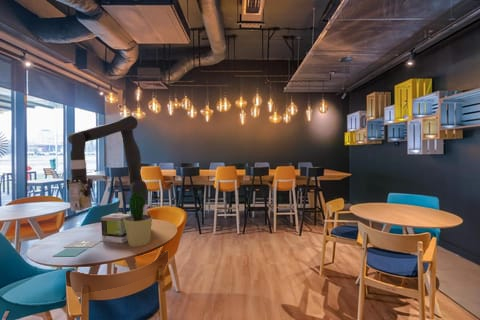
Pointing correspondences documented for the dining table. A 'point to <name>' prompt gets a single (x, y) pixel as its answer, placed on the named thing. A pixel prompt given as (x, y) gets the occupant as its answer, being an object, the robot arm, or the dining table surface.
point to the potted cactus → (138, 222)
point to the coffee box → (79, 196)
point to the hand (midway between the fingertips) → (80, 196)
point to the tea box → (114, 228)
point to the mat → (70, 252)
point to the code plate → (82, 244)
